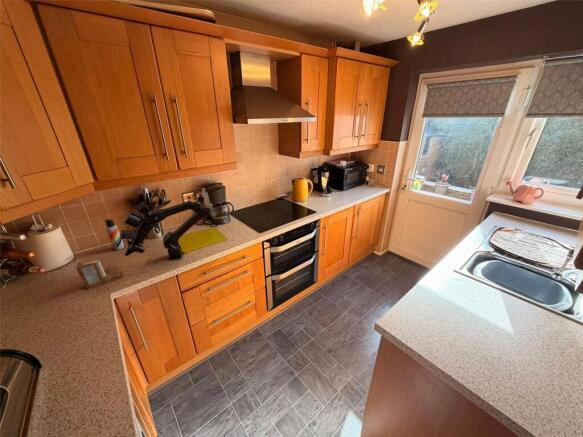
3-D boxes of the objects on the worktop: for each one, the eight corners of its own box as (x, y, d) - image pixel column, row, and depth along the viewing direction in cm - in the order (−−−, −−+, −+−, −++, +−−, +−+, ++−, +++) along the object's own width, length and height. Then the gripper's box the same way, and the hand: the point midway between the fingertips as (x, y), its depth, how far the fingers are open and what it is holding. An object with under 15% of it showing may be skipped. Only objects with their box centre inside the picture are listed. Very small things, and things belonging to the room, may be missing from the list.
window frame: (120, 272, 124) (112, 252, 118) (121, 277, 120) (112, 257, 115) (87, 283, 116) (76, 263, 111) (86, 289, 113) (76, 268, 107)
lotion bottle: (112, 250, 143) (100, 222, 134) (115, 246, 148) (104, 218, 139) (122, 249, 144) (111, 220, 135) (125, 244, 149) (115, 217, 140)
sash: (105, 275, 119) (98, 259, 115) (106, 276, 119) (98, 260, 114) (91, 279, 116) (83, 263, 112) (91, 281, 115) (83, 265, 111)
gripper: (125, 218, 124) (107, 242, 122) (129, 231, 110) (109, 258, 109) (146, 227, 132) (129, 249, 130) (152, 240, 118) (133, 265, 117)
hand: (125, 255), depth 121 cm, fingers closed
